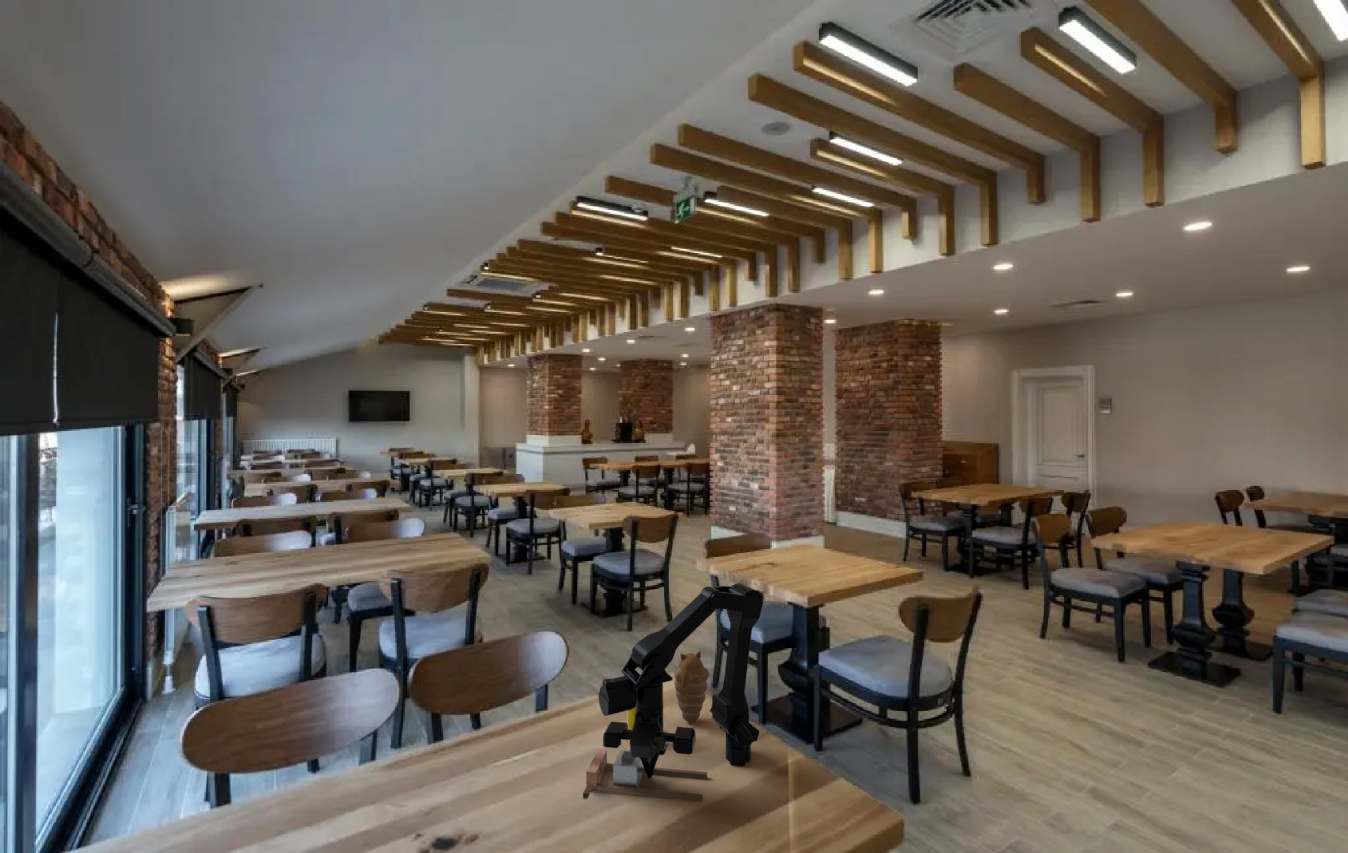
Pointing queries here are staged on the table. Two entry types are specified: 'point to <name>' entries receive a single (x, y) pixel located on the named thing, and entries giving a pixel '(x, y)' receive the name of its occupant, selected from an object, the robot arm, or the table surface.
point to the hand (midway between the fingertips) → (650, 777)
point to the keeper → (627, 770)
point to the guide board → (597, 773)
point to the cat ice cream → (691, 685)
